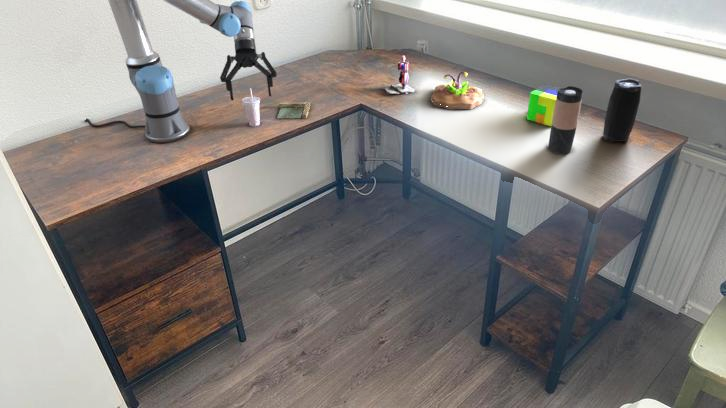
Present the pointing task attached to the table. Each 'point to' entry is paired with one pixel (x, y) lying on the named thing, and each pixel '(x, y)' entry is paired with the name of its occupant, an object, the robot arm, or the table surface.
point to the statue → (401, 80)
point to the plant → (457, 94)
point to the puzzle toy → (542, 104)
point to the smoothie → (252, 109)
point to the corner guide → (293, 110)
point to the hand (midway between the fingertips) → (251, 96)
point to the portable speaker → (622, 110)
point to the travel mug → (565, 119)
